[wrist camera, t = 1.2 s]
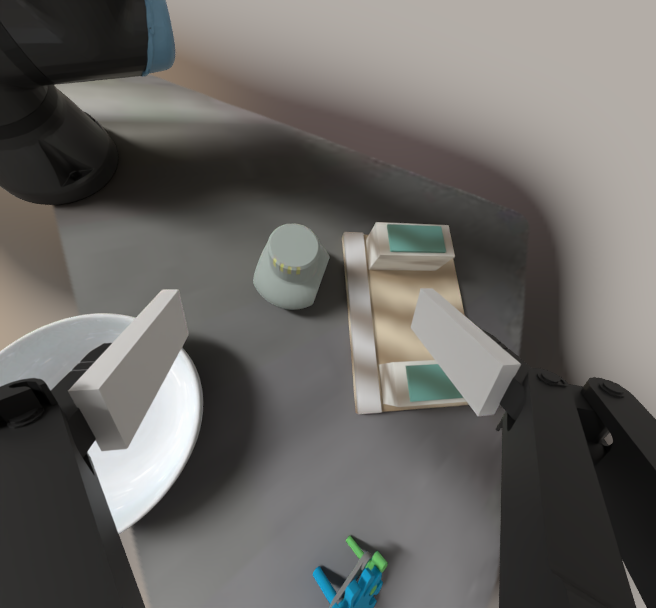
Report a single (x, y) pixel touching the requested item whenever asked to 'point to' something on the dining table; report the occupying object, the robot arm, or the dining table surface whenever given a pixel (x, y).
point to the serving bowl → (153, 433)
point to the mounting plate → (397, 315)
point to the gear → (355, 598)
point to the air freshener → (291, 267)
